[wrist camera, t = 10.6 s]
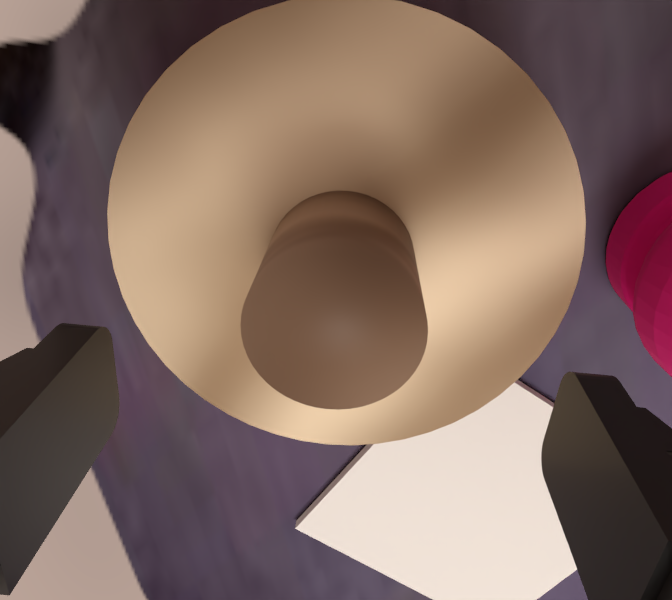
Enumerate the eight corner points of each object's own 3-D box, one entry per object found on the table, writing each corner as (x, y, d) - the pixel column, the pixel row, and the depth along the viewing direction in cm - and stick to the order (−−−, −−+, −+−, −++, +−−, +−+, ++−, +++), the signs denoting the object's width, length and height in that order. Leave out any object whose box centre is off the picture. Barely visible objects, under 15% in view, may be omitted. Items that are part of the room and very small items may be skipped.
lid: (680, 196, 15) (802, 267, 11) (389, 486, 20) (395, 612, 16) (266, -135, 12) (211, -215, 8) (51, 297, 18) (-51, 387, 13)
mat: (677, 482, 27) (682, 490, 26) (492, 622, 32) (494, 631, 31) (460, 342, 24) (462, 348, 23) (296, 520, 29) (295, 528, 29)
